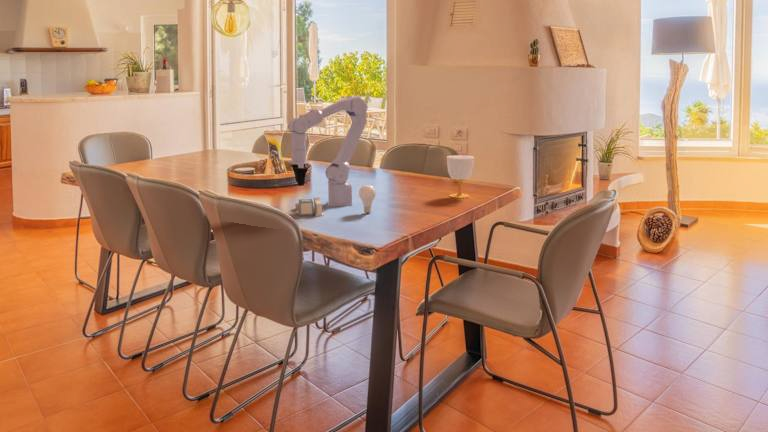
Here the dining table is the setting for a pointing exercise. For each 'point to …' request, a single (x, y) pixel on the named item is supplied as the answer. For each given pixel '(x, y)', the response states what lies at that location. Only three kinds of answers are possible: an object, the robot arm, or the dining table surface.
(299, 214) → the pad
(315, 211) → the tan rectangular block
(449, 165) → the cup
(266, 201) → the dining table surface
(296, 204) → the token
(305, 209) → the blue-grey cube
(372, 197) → the lightbulb
